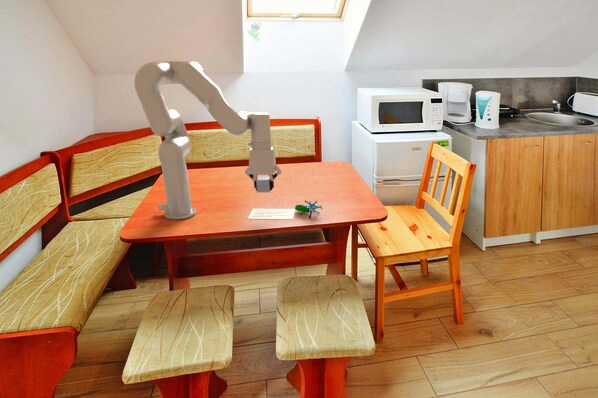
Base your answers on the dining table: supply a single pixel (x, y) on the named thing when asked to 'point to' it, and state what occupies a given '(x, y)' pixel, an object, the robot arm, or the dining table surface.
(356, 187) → the dining table surface
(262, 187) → the cube
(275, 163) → the robot arm
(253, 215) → the letter
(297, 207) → the stick construction toy
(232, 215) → the dining table surface
